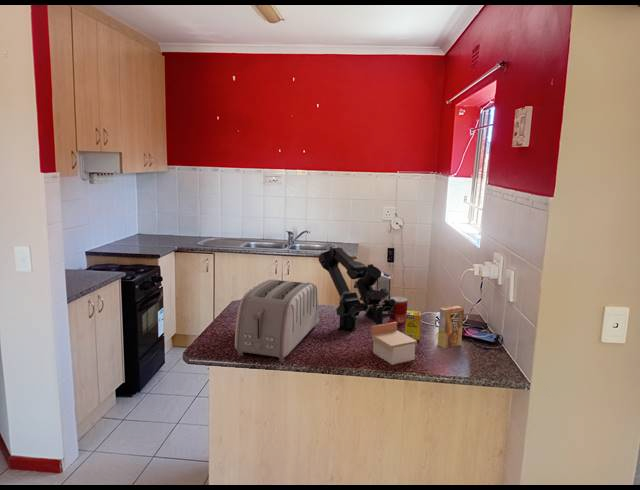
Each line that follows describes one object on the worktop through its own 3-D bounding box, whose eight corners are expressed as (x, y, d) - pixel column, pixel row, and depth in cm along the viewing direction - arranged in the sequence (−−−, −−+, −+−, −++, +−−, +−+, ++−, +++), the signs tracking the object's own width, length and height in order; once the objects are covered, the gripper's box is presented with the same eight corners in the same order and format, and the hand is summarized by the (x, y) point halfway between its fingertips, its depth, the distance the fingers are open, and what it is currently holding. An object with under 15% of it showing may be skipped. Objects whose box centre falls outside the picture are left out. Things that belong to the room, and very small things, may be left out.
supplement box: (419, 341, 191) (421, 315, 189) (404, 340, 192) (405, 314, 190) (419, 336, 196) (421, 311, 194) (404, 335, 198) (406, 310, 196)
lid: (370, 339, 178) (371, 326, 177) (395, 335, 184) (395, 321, 183) (391, 352, 167) (391, 337, 166) (416, 346, 172) (417, 332, 171)
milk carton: (373, 311, 229) (374, 270, 225) (387, 311, 229) (389, 271, 225) (375, 315, 222) (376, 274, 218) (389, 316, 222) (391, 274, 218)
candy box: (454, 341, 191) (456, 305, 189) (461, 345, 188) (464, 308, 185) (436, 345, 188) (439, 307, 185) (444, 348, 184) (446, 311, 181)
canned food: (408, 321, 215) (410, 298, 213) (402, 326, 208) (403, 302, 206) (393, 318, 219) (394, 295, 217) (386, 323, 212) (387, 299, 210)
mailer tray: (373, 352, 179) (373, 336, 178) (394, 348, 183) (395, 332, 182) (392, 365, 168) (392, 347, 167) (414, 360, 173) (415, 343, 172)
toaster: (228, 359, 171) (227, 299, 167) (275, 320, 213) (275, 272, 209) (283, 367, 165) (284, 306, 161) (320, 326, 207) (321, 276, 203)
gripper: (354, 283, 179) (369, 320, 171) (394, 278, 187) (411, 313, 180) (343, 298, 187) (357, 334, 179) (382, 293, 196) (397, 327, 188)
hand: (381, 326), depth 181 cm, fingers closed
